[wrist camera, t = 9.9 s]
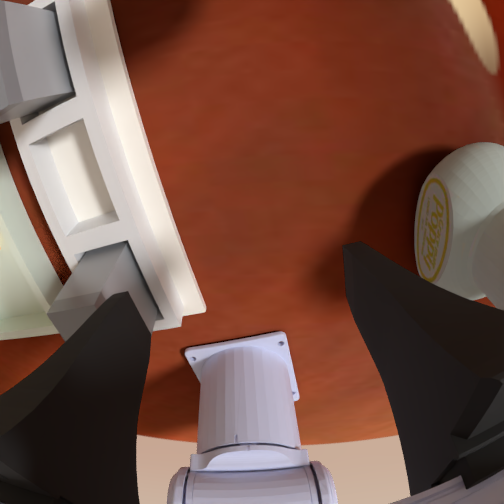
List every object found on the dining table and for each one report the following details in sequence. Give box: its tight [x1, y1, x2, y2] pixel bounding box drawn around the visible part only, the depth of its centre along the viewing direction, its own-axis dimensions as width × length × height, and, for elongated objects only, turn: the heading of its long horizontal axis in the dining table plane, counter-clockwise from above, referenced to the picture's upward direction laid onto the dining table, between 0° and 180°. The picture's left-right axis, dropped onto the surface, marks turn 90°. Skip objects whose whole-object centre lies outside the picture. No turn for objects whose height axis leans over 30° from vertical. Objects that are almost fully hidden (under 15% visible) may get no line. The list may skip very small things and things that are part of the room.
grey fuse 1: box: [0, 0, 76, 124], centre depth 10 cm, size 5×3×7 cm, turn 13°
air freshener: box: [414, 142, 504, 310], centre depth 15 cm, size 11×8×10 cm
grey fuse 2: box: [47, 240, 159, 342], centre depth 17 cm, size 5×3×7 cm, turn 12°
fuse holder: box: [10, 0, 206, 331], centre depth 16 cm, size 23×8×3 cm, turn 12°
